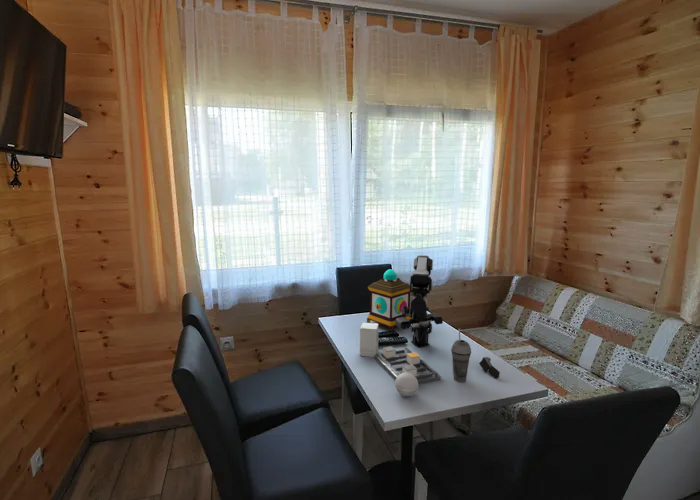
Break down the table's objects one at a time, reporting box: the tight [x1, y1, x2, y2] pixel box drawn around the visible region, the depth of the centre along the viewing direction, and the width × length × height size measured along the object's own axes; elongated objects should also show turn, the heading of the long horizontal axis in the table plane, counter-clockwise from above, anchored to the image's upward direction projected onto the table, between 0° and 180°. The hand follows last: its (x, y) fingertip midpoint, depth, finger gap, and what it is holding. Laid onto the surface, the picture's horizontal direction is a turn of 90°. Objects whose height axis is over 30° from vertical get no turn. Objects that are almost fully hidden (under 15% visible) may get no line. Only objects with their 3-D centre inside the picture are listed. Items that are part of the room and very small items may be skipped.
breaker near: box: [402, 364, 417, 376], centre depth 138 cm, size 4×4×3 cm
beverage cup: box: [450, 328, 472, 383], centre depth 137 cm, size 7×7×20 cm
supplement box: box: [359, 322, 379, 358], centre depth 160 cm, size 7×7×13 cm
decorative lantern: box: [366, 268, 412, 332], centre depth 193 cm, size 20×20×30 cm
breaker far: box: [382, 346, 397, 358], centre depth 153 cm, size 4×4×3 cm
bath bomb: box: [394, 372, 419, 398], centre depth 128 cm, size 8×8×8 cm
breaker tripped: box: [407, 351, 421, 364], centre depth 148 cm, size 4×4×3 cm
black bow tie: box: [478, 356, 501, 379], centre depth 143 cm, size 9×2×6 cm
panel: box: [374, 347, 441, 385], centre depth 147 cm, size 16×25×2 cm, turn 21°
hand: (418, 340), depth 148 cm, fingers closed
